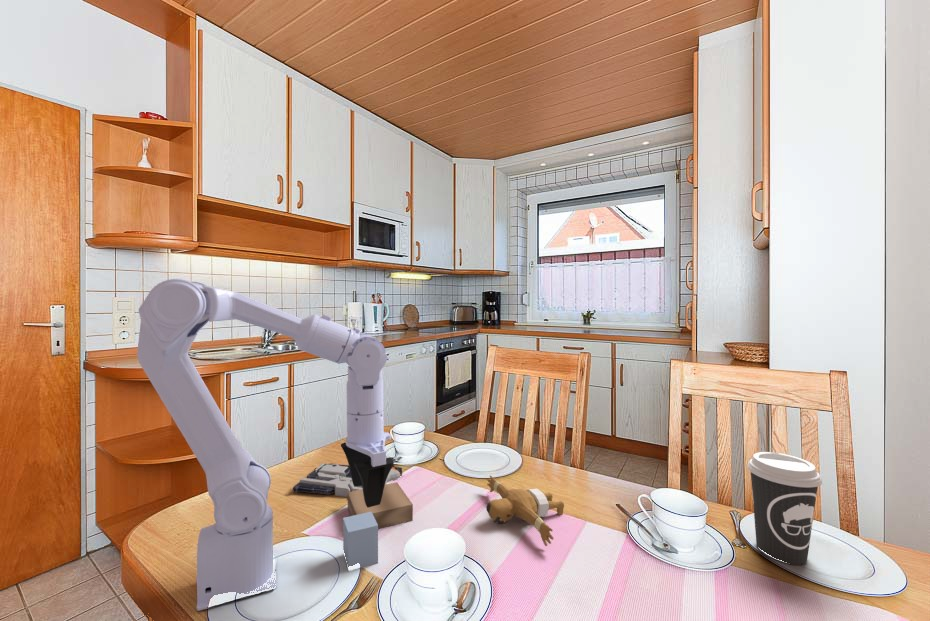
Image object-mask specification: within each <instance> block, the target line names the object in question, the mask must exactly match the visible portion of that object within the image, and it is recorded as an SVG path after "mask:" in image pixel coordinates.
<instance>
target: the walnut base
mask: <svg viewBox="0 0 930 621" xmlns="http://www.w3.org/2000/svg"><path fill="white" fill-rule="evenodd" d="M413 507H414V506H413V503H412V501H411V500H410V498H409V497H408V495H407V494H406V493H405V492H404V490H403V488H402V487H401V486H400V485H399V482H391V483H386V485H385V486H384V490H383V495H382V499H381V503H380V505H376V506H372V507H367V506H366V504H365V500H364V495H363V489H361V490H356V491H351V492H348V497H347V509H348V512H349V514H350V516H354V515H358V514H363V513H367V512H372V514H373V516H374V518H375V520H376V522H377V524H378V530H379V529H382V528H387V527H390V526H391V527H392V526H396V525H398V524H402V523H407V522H411V521H414V518H413V517H414V515H413V514H414V513H413V512H414V511H413V510H414V508H413Z"/></svg>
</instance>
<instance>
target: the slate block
mask: <svg viewBox="0 0 930 621" xmlns="http://www.w3.org/2000/svg"><path fill="white" fill-rule="evenodd" d="M342 527H343V528H342V530H343V531H342V536H343V537H342V538H343V540H342V541H343V542H342V543H343V544H342V546H343V547H342V549H343V550H344V553H345V557H346V561H347V564H348V567H349V566H353V565H355V564H357V563H359V564H360V566H361V568H360V569H363V568H366V567H370V566H373V565H377V564H378V563H379V529H378V524H377V522H376V520H375V518H374V516H373V514H372V512H367V513H363V514H358V515H354V516H351V515H350V516H346V517H343V518H342ZM343 550H342V551H343Z"/></svg>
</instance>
